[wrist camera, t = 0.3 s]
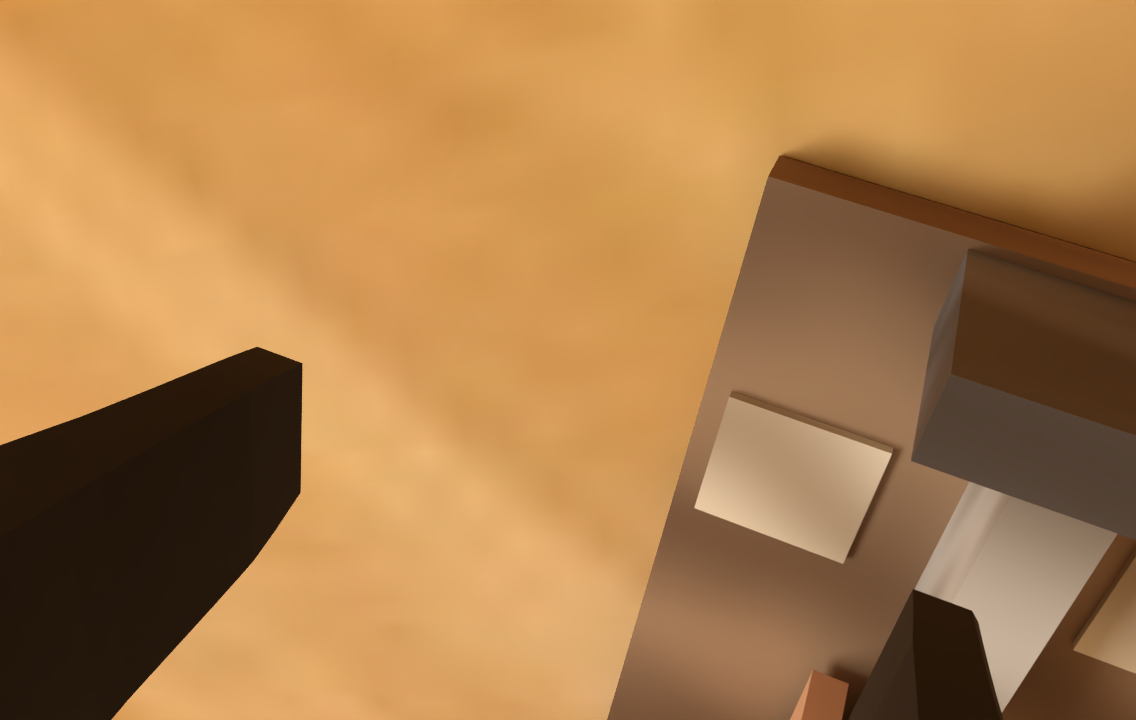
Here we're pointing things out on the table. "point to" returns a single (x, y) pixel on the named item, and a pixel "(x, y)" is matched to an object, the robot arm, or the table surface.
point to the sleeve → (821, 699)
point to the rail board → (901, 463)
